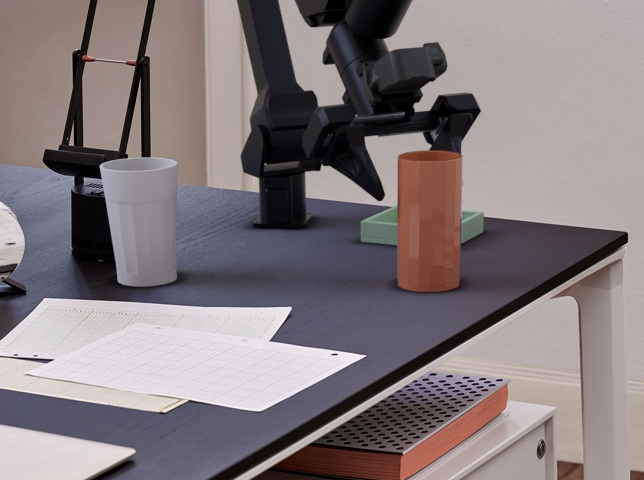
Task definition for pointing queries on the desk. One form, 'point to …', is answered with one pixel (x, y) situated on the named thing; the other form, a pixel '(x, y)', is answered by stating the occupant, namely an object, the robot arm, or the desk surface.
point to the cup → (142, 218)
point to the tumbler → (429, 220)
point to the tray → (385, 226)
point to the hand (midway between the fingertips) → (421, 193)
